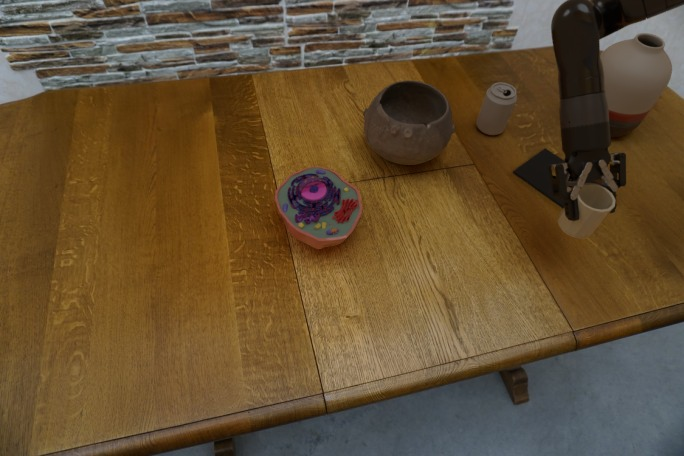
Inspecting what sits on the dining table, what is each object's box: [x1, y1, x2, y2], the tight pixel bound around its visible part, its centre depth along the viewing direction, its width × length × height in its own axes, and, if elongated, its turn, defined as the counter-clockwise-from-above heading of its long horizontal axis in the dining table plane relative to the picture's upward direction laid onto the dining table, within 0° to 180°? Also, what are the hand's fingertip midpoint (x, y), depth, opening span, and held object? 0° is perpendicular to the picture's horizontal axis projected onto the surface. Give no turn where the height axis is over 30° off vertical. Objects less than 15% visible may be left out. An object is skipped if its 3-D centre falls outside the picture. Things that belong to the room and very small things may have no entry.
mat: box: [512, 148, 618, 209], centre depth 109 cm, size 20×13×1 cm, turn 40°
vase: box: [600, 32, 673, 138], centre depth 114 cm, size 17×17×24 cm
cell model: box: [274, 166, 363, 250], centre depth 95 cm, size 17×20×11 cm
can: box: [475, 81, 518, 136], centre depth 116 cm, size 8×8×12 cm
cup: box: [557, 183, 617, 240], centre depth 83 cm, size 7×7×8 cm
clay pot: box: [362, 79, 456, 166], centre depth 109 cm, size 21×21×15 cm
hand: (591, 216), depth 82 cm, fingers closed on cup, 7 cm apart
